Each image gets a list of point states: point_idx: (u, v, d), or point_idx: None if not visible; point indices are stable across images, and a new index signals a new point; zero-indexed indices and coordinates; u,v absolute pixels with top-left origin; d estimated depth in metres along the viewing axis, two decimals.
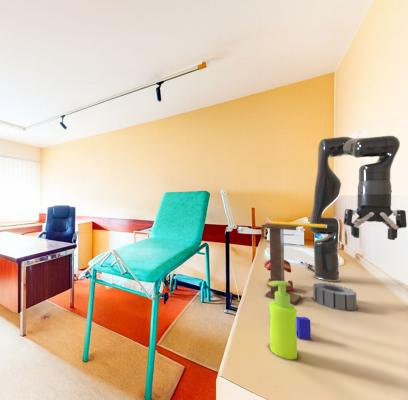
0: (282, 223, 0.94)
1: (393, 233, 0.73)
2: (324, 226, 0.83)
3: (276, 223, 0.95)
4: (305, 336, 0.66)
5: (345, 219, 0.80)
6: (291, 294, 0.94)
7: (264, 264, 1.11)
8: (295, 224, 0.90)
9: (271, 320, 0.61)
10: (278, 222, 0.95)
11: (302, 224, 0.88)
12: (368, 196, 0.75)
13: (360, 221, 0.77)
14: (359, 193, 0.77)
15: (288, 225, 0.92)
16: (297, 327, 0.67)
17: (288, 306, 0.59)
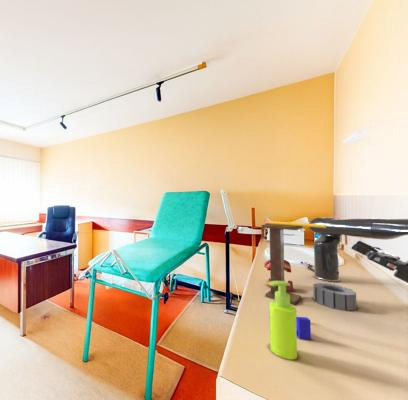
0: (282, 224, 0.94)
1: None
2: (324, 227, 0.83)
3: (276, 224, 0.95)
4: (305, 336, 0.66)
5: (380, 257, 0.68)
6: (291, 294, 0.94)
7: (264, 264, 1.11)
8: (295, 225, 0.90)
9: (271, 320, 0.61)
10: (278, 223, 0.95)
11: (302, 225, 0.88)
12: None
13: None
14: None
15: (288, 225, 0.92)
16: (297, 327, 0.67)
17: (288, 306, 0.59)
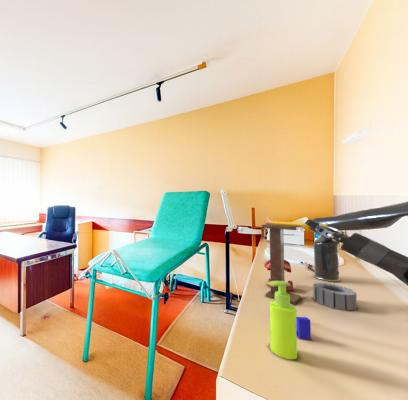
0: (282, 223, 0.94)
1: None
2: (324, 226, 0.83)
3: (276, 223, 0.95)
4: (305, 336, 0.66)
5: (324, 229, 0.81)
6: (291, 294, 0.94)
7: (264, 264, 1.11)
8: (295, 224, 0.90)
9: (271, 320, 0.61)
10: (278, 222, 0.95)
11: (302, 224, 0.88)
12: (353, 253, 0.76)
13: None
14: (362, 251, 0.73)
15: None
16: (297, 327, 0.67)
17: (288, 306, 0.59)
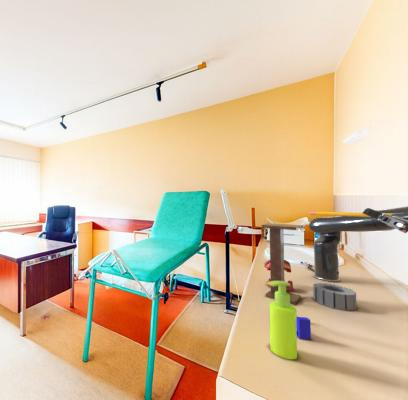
0: (332, 213, 0.81)
1: None
2: (389, 215, 0.71)
3: (324, 213, 0.83)
4: (305, 336, 0.66)
5: (390, 218, 0.68)
6: (291, 294, 0.94)
7: (264, 264, 1.11)
8: (349, 214, 0.78)
9: (271, 320, 0.61)
10: (326, 212, 0.82)
11: (359, 214, 0.76)
12: None
13: (387, 224, 0.70)
14: None
15: (340, 215, 0.80)
16: (297, 327, 0.67)
17: (288, 306, 0.59)
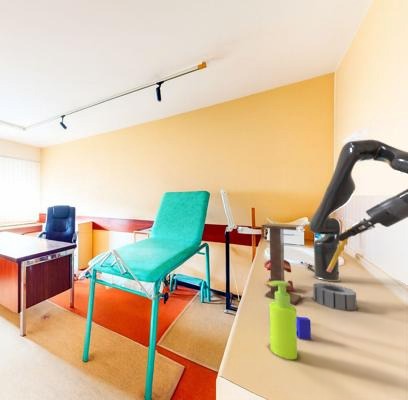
0: (334, 258, 0.87)
1: None
2: None
3: (333, 263, 0.88)
4: (305, 336, 0.66)
5: (352, 229, 0.81)
6: (291, 294, 0.94)
7: (264, 264, 1.11)
8: (339, 248, 0.86)
9: (271, 320, 0.61)
10: (332, 260, 0.88)
11: (341, 243, 0.85)
12: (395, 220, 0.74)
13: None
14: (392, 212, 0.73)
15: (339, 254, 0.86)
16: (297, 327, 0.67)
17: (288, 306, 0.59)
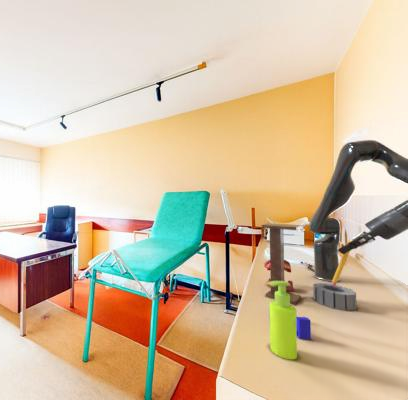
0: (338, 271, 0.87)
1: None
2: None
3: (336, 276, 0.87)
4: (305, 336, 0.66)
5: (352, 242, 0.81)
6: (291, 294, 0.94)
7: (264, 264, 1.11)
8: (342, 262, 0.86)
9: (271, 320, 0.61)
10: (335, 274, 0.87)
11: (343, 256, 0.86)
12: (394, 232, 0.74)
13: None
14: (390, 225, 0.74)
15: (342, 268, 0.86)
16: (297, 327, 0.67)
17: (288, 306, 0.59)
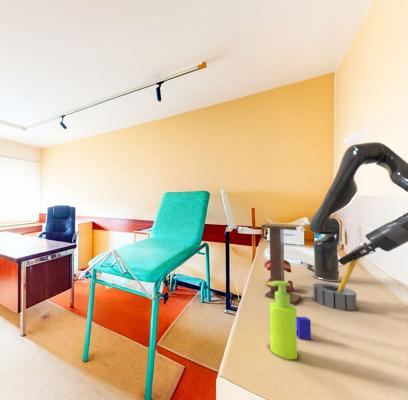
0: (340, 289, 0.87)
1: None
2: (354, 261, 0.83)
3: None
4: (305, 336, 0.66)
5: (353, 253, 0.81)
6: (291, 294, 0.94)
7: (264, 264, 1.11)
8: (344, 280, 0.85)
9: (271, 320, 0.61)
10: None
11: (346, 275, 0.85)
12: (395, 245, 0.74)
13: (361, 257, 0.81)
14: (391, 237, 0.74)
15: (344, 286, 0.86)
16: (297, 327, 0.67)
17: (288, 306, 0.59)
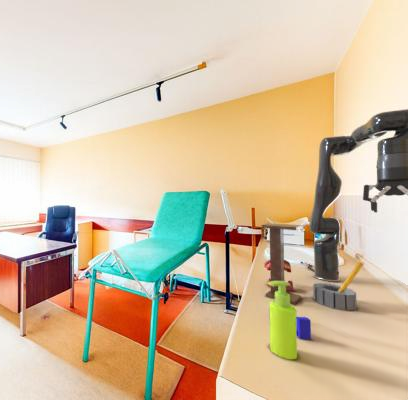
0: (341, 290, 0.86)
1: None
2: (361, 263, 0.82)
3: None
4: (305, 336, 0.66)
5: None
6: (291, 294, 0.94)
7: (264, 264, 1.11)
8: (347, 281, 0.85)
9: (271, 320, 0.61)
10: None
11: (350, 276, 0.84)
12: (381, 171, 0.76)
13: (377, 195, 0.78)
14: None
15: (346, 287, 0.85)
16: (297, 327, 0.67)
17: (288, 306, 0.59)
